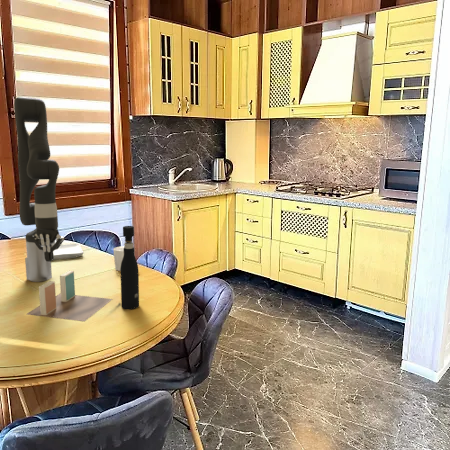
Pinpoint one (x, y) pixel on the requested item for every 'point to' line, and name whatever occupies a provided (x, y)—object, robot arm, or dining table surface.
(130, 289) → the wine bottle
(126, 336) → the dining table surface
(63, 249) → the salad plate
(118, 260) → the white cup
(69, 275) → the tile teal
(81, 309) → the board
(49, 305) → the tile terracotta
